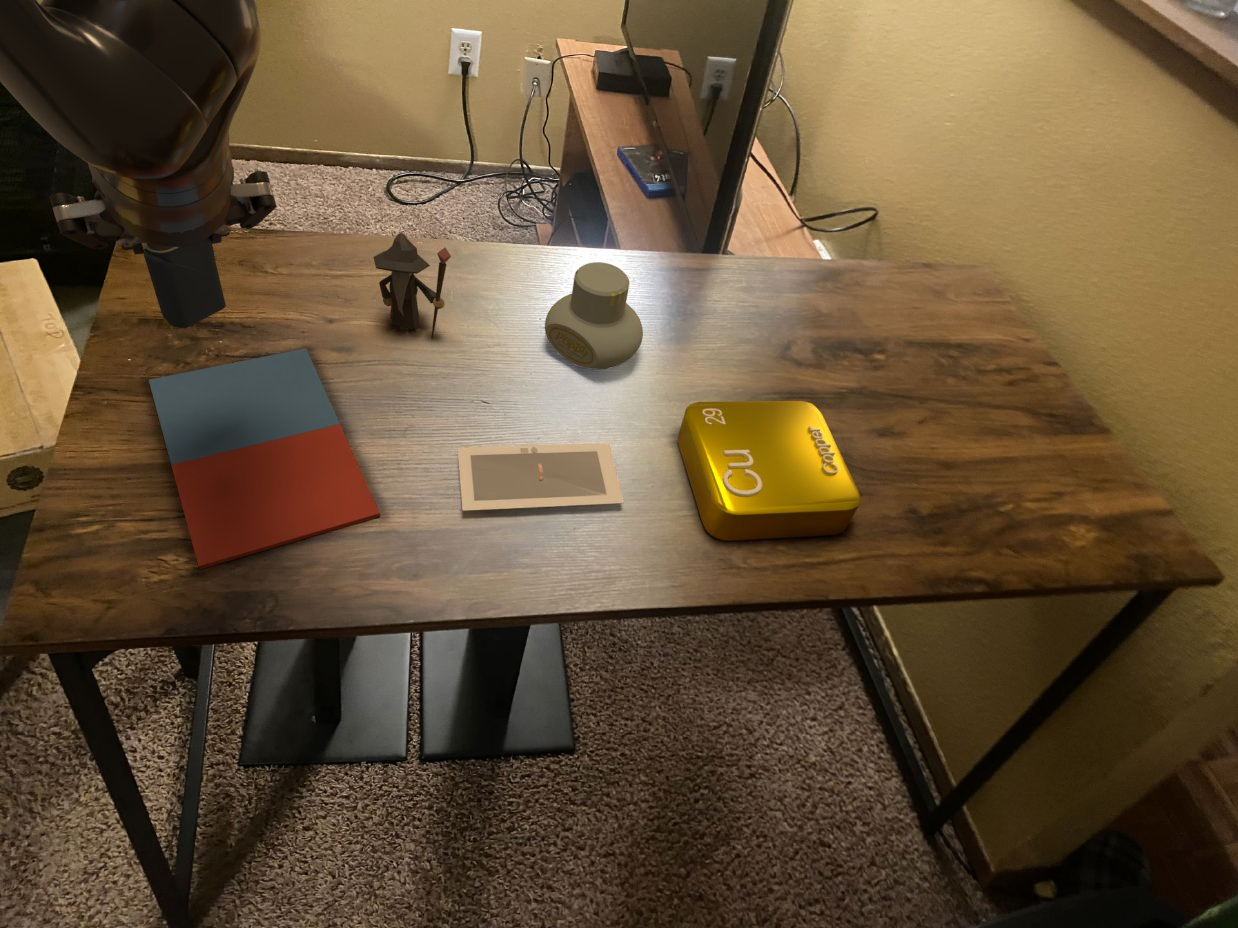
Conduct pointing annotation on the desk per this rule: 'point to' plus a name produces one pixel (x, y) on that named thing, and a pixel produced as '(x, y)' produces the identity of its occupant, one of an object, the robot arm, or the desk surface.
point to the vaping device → (185, 281)
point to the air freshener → (595, 319)
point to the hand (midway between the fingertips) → (174, 235)
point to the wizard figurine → (408, 283)
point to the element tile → (766, 470)
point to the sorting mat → (258, 456)
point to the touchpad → (537, 476)
